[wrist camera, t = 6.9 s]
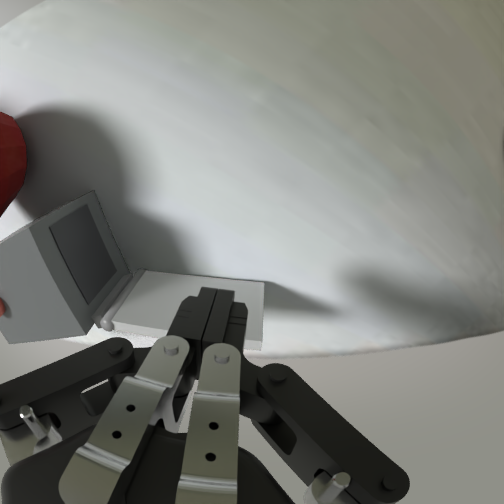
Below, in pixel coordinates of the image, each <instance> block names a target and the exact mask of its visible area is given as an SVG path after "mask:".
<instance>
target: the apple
mask: <svg viewBox="0 0 504 504" xmlns="http://www.w3.org/2000/svg"><path fill="white" fill-rule="evenodd" d="M26 168H27V157H26V144H25V141H24V138H23V136H22V133H21V130H20V128H19V126H18V125H17V123H16V122H15V120H14V119H13V117H11V116H9V115H7V114H5V113H2V112H0V217H1V216H2V214H3V213H4V212H5V210H6V209H7V207H8V206H9V205H10V203H11V202H12V201H13V199H14V198H15V197H16V195H17V194H18V192H19V190H20V189H21V187H22V185H23V183H24V178H25V173H26Z"/></svg>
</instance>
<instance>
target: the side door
mask: <svg viewBox="0 0 504 504" xmlns="http://www.w3.org/2000/svg"><path fill="white" fill-rule="evenodd" d="M202 286H203V287H211V288H218V289H227V290H234V291H235V297H234V302H242V303H245V305H246V307H247V309H248V318H247V327H246V336H245V343H244V349H247V350H258V351H261V348H262V338H263V310H264V282H253V281H242V280H231V279H221V278H211V277H201V276H192V275H182V274H173V273H164V272H155V271H147V270H145V269H143V268H140V269H138V271H137V272H136V273H135V274H134V276H133V277H132V278H131V280H130V281H129V282H128V284H127V285H126V286H125V288H124V289H123V291H122V292H121V293H120V295H119V296H118V297H117V299H116V300H115V301H114V303H113V304H112V306H111V307H110V308H109V310H108V311H107V313H106V314H105V315H104V317H103V318H102V320H101V321H100V325H101V327H102V328H103V329H104V330H106V331H112V330H115V331H120V332H125V333H131V334H136V335H142V336H148V337H154V338H161V337H164V336H166V334H167V332H168V330H169V328H170V326H171V323H172V321H173V319H174V317H175V316H176V313H177V310H178V308H179V306H180V304H181V302H182V301H183V300H184V299H185V298H187V297H188V296H196V297H197V296H198V294H199V292H200V289H201V287H202Z"/></svg>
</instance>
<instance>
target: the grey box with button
mask: <svg viewBox="0 0 504 504" xmlns="http://www.w3.org/2000/svg"><path fill="white" fill-rule="evenodd" d="M132 277H133V275H132V273H131V274H130V272H129V270H128V268H127V266H126V263H125V261H124V259H123V257H122V255H121V253H120V251H119V249H118V246H117V244H116V242H115V240H114V237H113V235H112V233H111V231H110V228H109V226H108V224H107V221H106V219H105V217H104V214H103V212H102V209H101V207H100V204H99V202H98V199H97V197H96V194H95V192H94V191H92V192H89V193H87V194H85V195H83V196H81V197H79V198H77V199H75V200H73V201H71V202H69V203H67V204H65V205H63V206H61V207H59V208H57V209H55V210H53V211H51V212H49V213H47V214H46V215H44V216H42V217H40V218H38V219H36V220H34V221H33V222H31V223H29V224H27V225H26V226H24V227H22V228H20V229H19V230H17V231H16V232H14V233H12V234H11V235H9V236H8V237H6V238H5V239H3V240H2V241H0V331H1V332H2V334H3V335H4V337H5V339H6V340H7V341H8V343H9V344H16V343H25V342H35V341H44V340H51V339H60V338H68V337H76V336H83V335H87V333H88V332H89V330H90V329H91V327H92V326H93V325H94V323H95V324H96V326H97V327H98V328H102V327H101V325H100V321H101V320H102V318H103V317H104V315H105V314H106V313H107V311H108V310H109V308H110V307H111V306H112V304H113V303H114V301H115V300H116V299H117V297H118V296H119V295H120V293H121V292H122V291H123V289H124V288H125V286H126V285H127V284H128V282H129V281H130V280H131V278H132Z"/></svg>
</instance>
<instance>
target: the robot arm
mask: <svg viewBox="0 0 504 504" xmlns="http://www.w3.org/2000/svg"><path fill="white" fill-rule="evenodd" d="M234 297H235V291H234V290H227V289H218V288H211V287H203V286H202V287H201V289H200V292H199V294H198V296H197V297H196V296H188V297H187V298H185V299H184V300H183V301H182V302H181V304H180V306H179V308H178V310H177V313H176V316H175V317H174V319H173V321H172V323H171V326H170V328H169V330H168V332H167V334H166V336H164V337H161V338H160V339H158V340H157V341H156V342H155V343H154V345H153V346H152V347H147V348H133V346H132V344H131V342H130V341H128V340H127V339H125V338H120V337H114V338H110V339H107V340H105V341H103V342H100V343H98V344H96V345H93V346H91V347H89V348H86V349H84V350H82V351H79V352H77V353H75V354H72V355H70V356H68V357H65V358H63V359H61V360H58V361H56V362H54V363H51V364H49V365H47V366H44V367H42V368H39V369H37V370H34V371H32V372H30V373H27V374H25V375H23V376H20V377H17V378H15V379H13V380H10V381H8V382H5V383H3V384H0V438H1V441H2V444H3V447H4V450H5V453H6V456H7V458H8V461H9V463H10V466H11V467H10V468H9V469H8V470H7V471H6V473H5V475H4V477H3V479H2V484H1V493H2V504H295V503H294V502H293V501H292V500H291V498H290V497H289V496H288V495H287V494H286V492H285V491H284V490H283V489H282V487H281V486H280V485H279V484H278V483H277V481H276V480H275V479H274V478H273V476H272V475H271V474H270V473H269V471H268V470H267V469H266V467H265V466H264V465H263V464H262V463H261V462H260V461H259V460H258V459H257V458H256V457H255V456H254V455H253V454H251V453H250V452H248V451H247V450H245V449H243V448H241V447H239V446H238V437H239V434H238V433H239V414H241V415H243V416H246V417H248V418H250V419H251V421H252V424H253V425H254V426H255V428H256V429H257V430H258V431H259V432H260V433H261V435H262V436H263V437H264V438H265V439H266V441H267V442H268V443H269V444H270V445H271V446H272V448H273V449H274V450H275V451H276V452H277V453H278V455H279V456H280V457H281V458H282V459H283V460H284V461H285V462H286V464H287V465H288V466H289V467H290V468H291V469H292V470H293V471H294V472H295V473H296V474H297V475H298V477H299V478H300V479H301V480H302V481H303V482H304V483H305V484H306V485H307V486H308V488H307V490H306V491H305V494H304V503H305V504H395V503H396V502H398V501H399V500H401V499H402V498H403V497H404V496H405V495H406V494H407V492H408V490H409V487H410V481H409V477H408V475H407V474H406V472H405V471H404V470H403V469H402V468H400V467H399V466H398V465H397V464H396V463H394V462H393V461H392V460H391V459H390V458H388V457H387V456H386V455H385V454H384V453H382V452H381V451H380V450H379V449H378V448H377V447H376V446H375V445H373V444H372V443H371V442H370V441H369V440H368V439H367V438H365V437H364V436H363V435H362V434H361V433H360V432H359V431H358V430H356V429H355V428H354V427H353V426H352V425H351V424H350V423H349V422H347V421H346V420H345V419H344V418H343V417H342V416H341V415H340V414H339V413H338V412H337V411H336V410H334V409H333V408H332V407H331V406H330V405H329V404H328V403H327V402H326V401H325V400H324V399H323V398H322V397H320V396H319V395H318V394H317V393H316V392H315V391H314V390H313V389H312V388H311V387H310V386H309V385H308V384H307V383H306V382H304V380H303V379H302V378H301V377H300V376H299V375H298V374H296V373H295V372H294V371H293V370H292V369H291V368H290V367H288V366H286V365H283V364H278V363H273V364H268V365H266V366H264V367H263V368H261V367H258V366H256V365H254V364H252V363H250V362H249V361H248V360H247V359H246V358H245V357H244V355H243V350H244V343H245V336H246V327H247V318H248V309H247V307H246V305H245V303H242V302H234ZM106 379H108V382H105V383H103V384H101V385H99V386H97V387H95V388H93V389H91V390H89V391H86V392H84V393H81V392H82V391H83V390H85V389H87V388H89V387H91V386H93V385H95V384H98V383H99V382H102V381H104V380H106ZM195 379H196V380H199V381H198V388H197V392H195V394H194V397H193V402H192V408H191V414H190V420H189V426H188V432H187V433H178V430H179V427H180V424H181V421H182V418H183V415H184V413H185V411H186V408H187V406H188V403H189V400H190V398H191V395H192V387H193V384H194V381H195ZM64 439H65V440H64ZM62 440H63V441H62Z"/></svg>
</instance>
